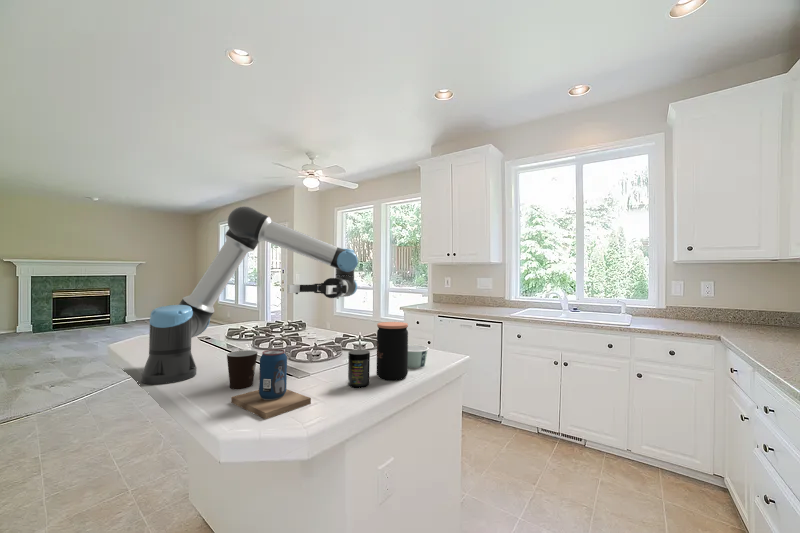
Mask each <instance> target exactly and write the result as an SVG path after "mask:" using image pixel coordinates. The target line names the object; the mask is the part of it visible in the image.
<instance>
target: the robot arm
mask: <svg viewBox="0 0 800 533" xmlns="http://www.w3.org/2000/svg"><path fill="white" fill-rule="evenodd" d="M227 226H228V229H227V231H226V232H225V234H224V235H225V242H224V244H223V245H222V247H220V250H219V251H218V252H217V254H216V256H215V257H214V259H213V260H212V262H211V263H210V265H209V266H208V268H207V269H206V271H205V273H204V274H203V276H202V277H201V278H200V279H199V282H198V283H197V285H196V286H195V287H194V289H193V291H192V292H191V294H189V295H187V296H183V297H182V299H181V300H180V302H179V304H171V305H165V306H164V305H162V306H158V307H156V308H154V309H152V311H150V316H149V317H150V318H149V319H148V320H149V321H148V322H149V339H148V340H149V341H148V342H149V343H148V344H149V346H148V347H149V348H148V358H147V360H146V362H145V364H144V367H143V370H142V372H141V376H140V378H141V379H140V380H141V383H143V384H147V385H163V384H164V385H165V384H170V383H171V384H172V383H177V382H181V381H185V380H189V379H191V378H194V377H195V376H196V375H197V365H196V362H195V360H194V356H193V353H192V339H193V338H194V337H198V336H199V335H201V334H203V333H204V332H205V331H206V329H208V327H209V325H210V321H211V318H212V316H213V315H214V313H215V308H214V306H215V303H216V302H217V301H218V299H219V297H220V296H221V294H222V292H223V291H224V290H225V288H226V286H227V285H228V283H229V282H230V281H231V279H232V277H233V276H234V274H235V273H236V271H237V270H238V268H239V267H240V265H241V263H242V262H243V260H244V258H245V257H246V255H247V254H248V253H249V252H254V251H255V249H256V248H257V246H258V244H259V243H260V242H263V241H265V242H267V243H269V244H272V245H275V246H278V247H280V248H283V249H285V250H288V251H291V252H293V253H296V254H299V255H301V256H304V257H306V258H309V259H312V260H314V261H317V262H320V263H322V264H325V265H328V266H330V267H333V268H335V277H330V278H327V279H326V280H324V281H323V282H321V283H313V284H312V283H311V284H295V283H294V284H288V285H287V290H286V291H287V294H295V295H299V293H309V292H310V293H315V294H322V295H324V296H325V297H326V298H328V299H337V300H339V299H340V298H343V297H350V296H352V295H354V294H355V293H356V292H357V290H358V283H357V281H356V280H355V269H356V268H357V267H358V262H359V259H358V257H357V254H355V250H354V249H353V248H352V249H351V248H341V247H338V246H335V245H334V244H331V243H330V242H329V243H328V242H326V241H323V240H321V239H318V238H317V237H314V236H310V235H308V234H306V233H303V232H301V231H299V230H296V229H294V228H291V227H288V226H286V225H284V224H281V223H278V222H276V221H273V220H272V218H271V216H268V215H266V214H264V213H262V212H260V211H257V210H256V209H254V208H252V207H250V206H238V207H236V208H234V209H233V210H232V211H230V213H229V214H228V217H227Z"/></svg>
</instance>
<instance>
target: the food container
mask: <svg viewBox="0 0 800 533" xmlns="http://www.w3.org/2000/svg"><path fill="white" fill-rule="evenodd" d="M429 350H430V347H428V346H426V345H422V344H421V345H420V344H408V368H411V369H414V368H415V369H417V368H422V367H423V368H424V367H426V366H425V365H426V361H427V356H428V351H429Z"/></svg>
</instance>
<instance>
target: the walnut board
mask: <svg viewBox="0 0 800 533" xmlns="http://www.w3.org/2000/svg"><path fill="white" fill-rule="evenodd" d="M311 400H312V398H311V397H309V396H306V395H304V394H302V393H299V392H296V391H293V390H290V389H287V388H286V392H285V394H284V396H283V397H282V398H279V399H276V400H264V399H262V398H261V396H260V394H259V389H256V390H252V391H248V392H244V393H241V394H237V395H233V396H230V403H231V404H233V405H235V406H237V407H239V408H241V409H244V410H245V411H247V410H248V411H247V412H249V411H250V412H249V413H251V412H252V414H253V413H254V415H255V416H258V417H260V418H262V419H264V420H268V419H271V418H273V417H277V416H279V415H283V414H285V413H288V412H291V411H294V410H297V409H299V408H303V407H304V406H305V407H306V406H308V405H311V404H312V401H311Z"/></svg>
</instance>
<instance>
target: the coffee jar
mask: <svg viewBox="0 0 800 533" xmlns="http://www.w3.org/2000/svg"><path fill="white" fill-rule="evenodd" d="M376 326H377V328H378V329H377V330H376V375H377V378H378V379H380V380H382V381H388V382H391V381H392V382H394V381H395V382H396V381H402V380H405V378H406V377H407V376H408V369H409V367H408V345H409V332H408V327H409V324H408V323H407V322H404V321H402V322H401V321H383V322H381V321H380V322H378V323H377V324H376Z"/></svg>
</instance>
